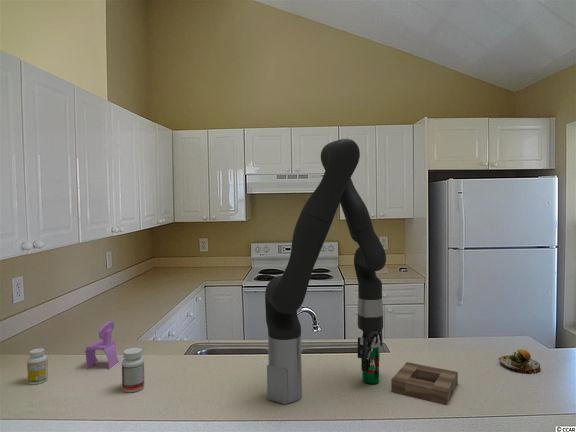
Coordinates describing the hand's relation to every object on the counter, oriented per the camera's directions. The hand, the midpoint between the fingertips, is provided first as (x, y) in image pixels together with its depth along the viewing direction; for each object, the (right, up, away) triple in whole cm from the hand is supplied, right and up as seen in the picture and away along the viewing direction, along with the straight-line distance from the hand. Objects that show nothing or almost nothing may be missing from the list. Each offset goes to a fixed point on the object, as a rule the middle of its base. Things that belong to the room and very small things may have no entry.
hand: (370, 366), depth 124 cm
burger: (+50, -4, +10) cm, 51 cm away
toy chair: (-88, -6, +15) cm, 89 cm away
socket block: (+15, -4, -5) cm, 16 cm away
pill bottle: (-70, -6, -2) cm, 71 cm away
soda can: (0, -5, 0) cm, 5 cm away
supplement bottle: (-102, -6, +4) cm, 102 cm away
